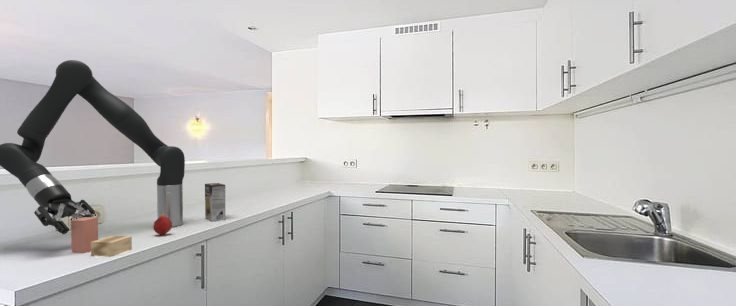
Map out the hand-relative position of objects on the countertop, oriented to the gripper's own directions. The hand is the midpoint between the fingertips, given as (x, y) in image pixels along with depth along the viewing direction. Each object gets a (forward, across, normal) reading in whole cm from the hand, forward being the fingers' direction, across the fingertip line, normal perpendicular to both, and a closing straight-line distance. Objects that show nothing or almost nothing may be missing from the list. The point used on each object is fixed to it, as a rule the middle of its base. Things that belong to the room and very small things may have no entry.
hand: (80, 228), depth 103 cm
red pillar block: (+6, 0, +4) cm, 7 cm away
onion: (+13, +20, -3) cm, 24 cm away
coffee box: (+15, +50, -5) cm, 52 cm away
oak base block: (+13, 0, -3) cm, 13 cm away
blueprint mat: (+10, 0, 0) cm, 10 cm away
